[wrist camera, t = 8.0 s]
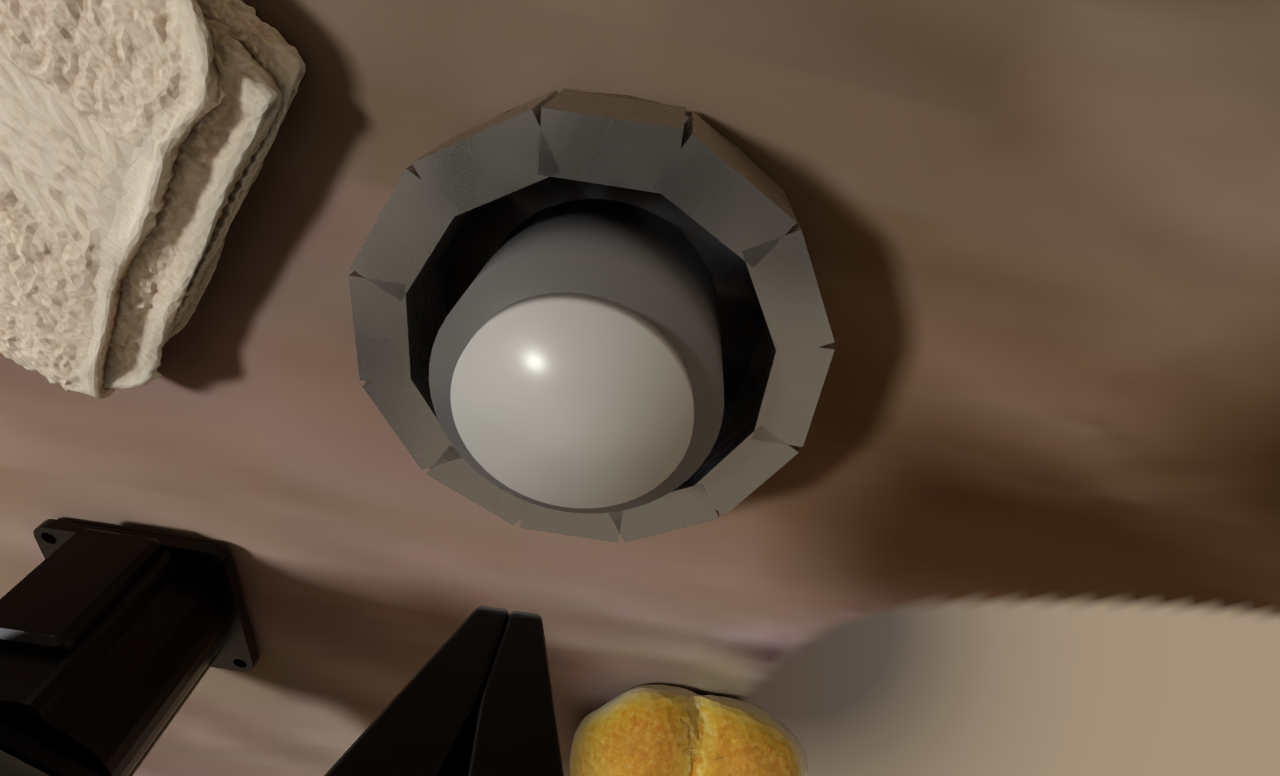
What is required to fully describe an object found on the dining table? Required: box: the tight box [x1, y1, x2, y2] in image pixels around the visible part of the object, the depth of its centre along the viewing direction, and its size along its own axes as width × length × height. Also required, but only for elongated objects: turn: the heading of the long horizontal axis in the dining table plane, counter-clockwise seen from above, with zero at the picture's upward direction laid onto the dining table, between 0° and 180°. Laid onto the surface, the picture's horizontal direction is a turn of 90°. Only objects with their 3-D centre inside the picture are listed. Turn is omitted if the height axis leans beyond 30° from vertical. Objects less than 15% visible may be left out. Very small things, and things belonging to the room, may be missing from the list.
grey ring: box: [349, 89, 835, 542], centre depth 16 cm, size 10×10×3 cm
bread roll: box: [570, 684, 808, 776], centre depth 26 cm, size 8×9×4 cm
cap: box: [429, 199, 724, 514], centre depth 15 cm, size 6×6×4 cm
